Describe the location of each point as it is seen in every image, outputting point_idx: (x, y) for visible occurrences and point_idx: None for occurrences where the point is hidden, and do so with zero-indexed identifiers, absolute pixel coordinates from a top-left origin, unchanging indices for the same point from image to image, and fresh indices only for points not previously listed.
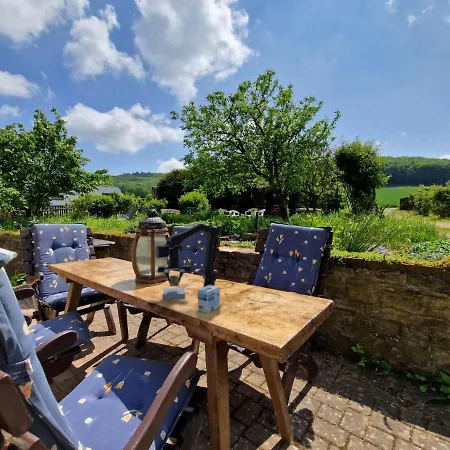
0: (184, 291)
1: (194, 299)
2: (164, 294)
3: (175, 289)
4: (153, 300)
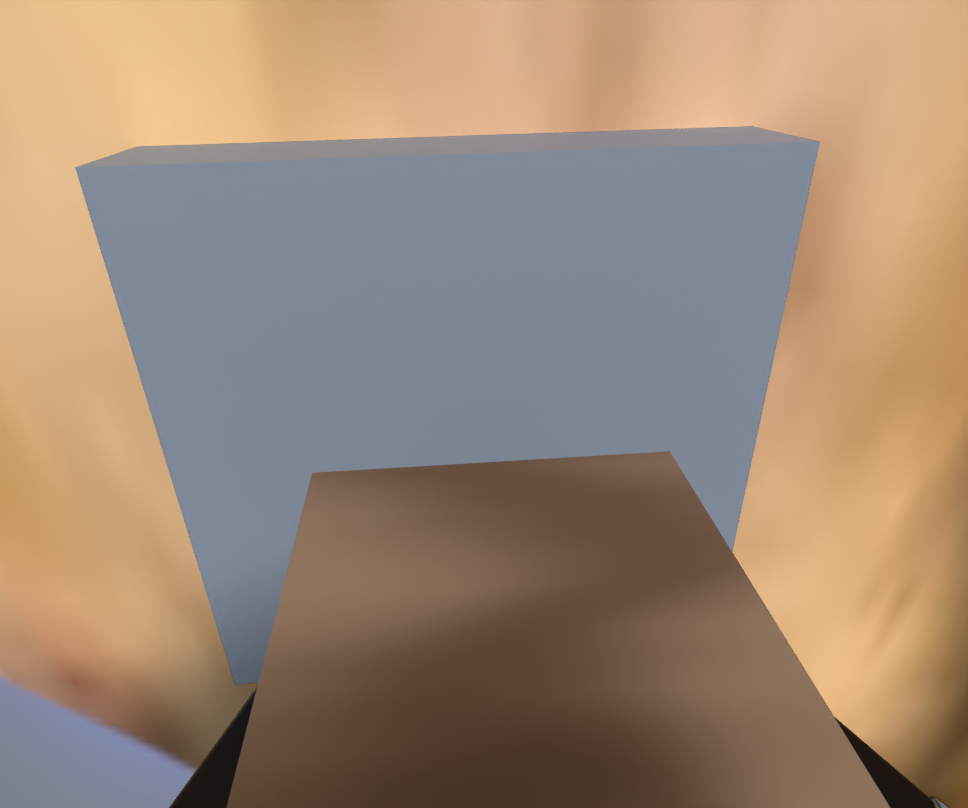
0: (733, 518)
1: (816, 640)
2: (255, 671)
3: (511, 318)
4: (72, 649)
